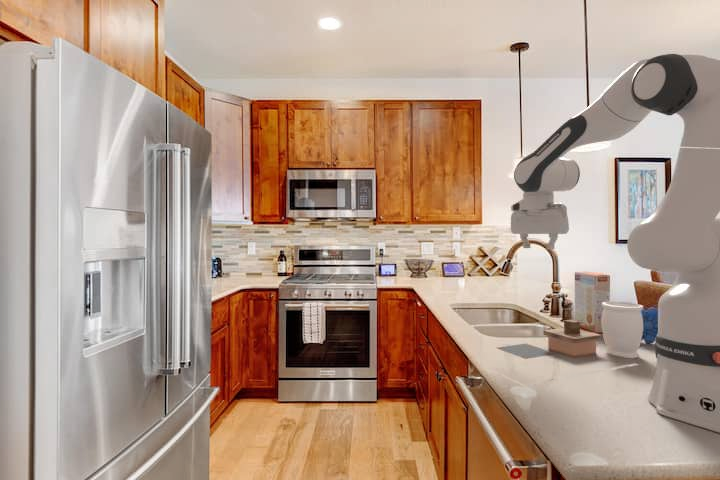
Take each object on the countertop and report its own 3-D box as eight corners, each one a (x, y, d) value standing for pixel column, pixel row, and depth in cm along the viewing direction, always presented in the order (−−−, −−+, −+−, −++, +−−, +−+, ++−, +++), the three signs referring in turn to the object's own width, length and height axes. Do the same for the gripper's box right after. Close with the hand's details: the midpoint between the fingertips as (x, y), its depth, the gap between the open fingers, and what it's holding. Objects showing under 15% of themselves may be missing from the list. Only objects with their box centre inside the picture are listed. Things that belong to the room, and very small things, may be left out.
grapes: (671, 343, 132) (672, 306, 132) (670, 348, 127) (670, 309, 126) (629, 338, 139) (629, 302, 139) (625, 342, 134) (625, 305, 134)
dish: (596, 355, 120) (596, 338, 120) (573, 359, 117) (573, 341, 117) (569, 347, 129) (569, 331, 128) (548, 350, 125) (548, 334, 125)
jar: (650, 361, 115) (650, 307, 114) (609, 359, 117) (609, 306, 116) (633, 350, 125) (633, 301, 125) (595, 348, 127) (596, 300, 127)
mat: (556, 355, 120) (556, 353, 120) (525, 360, 116) (525, 358, 116) (526, 345, 131) (526, 343, 131) (496, 349, 127) (496, 347, 127)
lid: (601, 339, 120) (602, 322, 119) (574, 343, 115) (574, 326, 115) (569, 330, 130) (569, 315, 130) (543, 334, 125) (543, 319, 125)
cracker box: (610, 333, 146) (611, 274, 145) (593, 333, 146) (593, 275, 145) (589, 324, 160) (589, 271, 159) (573, 324, 160) (573, 271, 159)
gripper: (574, 202, 120) (573, 249, 120) (521, 206, 139) (521, 247, 139) (558, 202, 118) (558, 250, 118) (507, 206, 137) (507, 247, 137)
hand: (538, 248), depth 129 cm, fingers open, 8 cm apart
